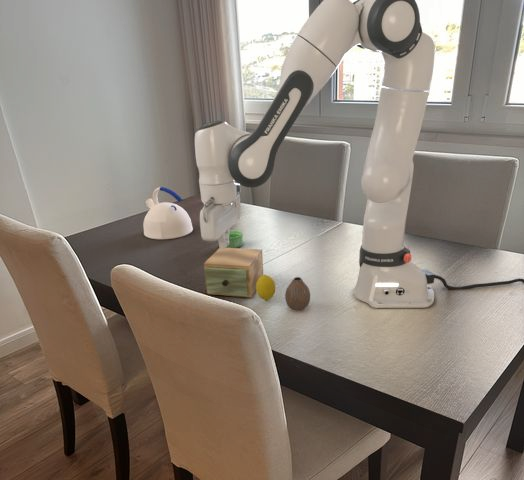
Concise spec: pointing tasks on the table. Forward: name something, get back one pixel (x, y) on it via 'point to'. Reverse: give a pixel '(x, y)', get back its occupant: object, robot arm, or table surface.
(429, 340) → the table surface
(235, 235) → the ramekin
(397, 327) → the table surface
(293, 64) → the robot arm
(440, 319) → the table surface
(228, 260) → the cabinet
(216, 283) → the drawer
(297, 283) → the vase
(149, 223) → the kettle
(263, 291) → the lemon
